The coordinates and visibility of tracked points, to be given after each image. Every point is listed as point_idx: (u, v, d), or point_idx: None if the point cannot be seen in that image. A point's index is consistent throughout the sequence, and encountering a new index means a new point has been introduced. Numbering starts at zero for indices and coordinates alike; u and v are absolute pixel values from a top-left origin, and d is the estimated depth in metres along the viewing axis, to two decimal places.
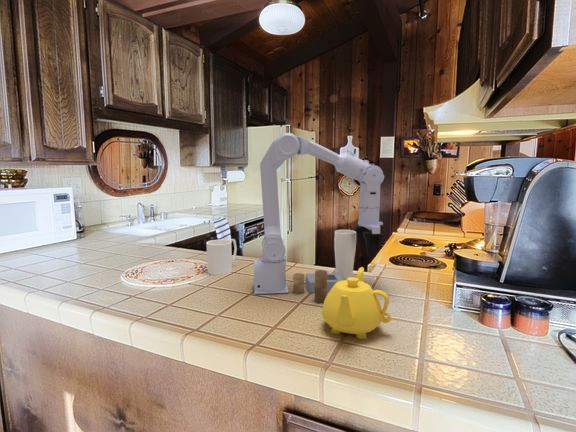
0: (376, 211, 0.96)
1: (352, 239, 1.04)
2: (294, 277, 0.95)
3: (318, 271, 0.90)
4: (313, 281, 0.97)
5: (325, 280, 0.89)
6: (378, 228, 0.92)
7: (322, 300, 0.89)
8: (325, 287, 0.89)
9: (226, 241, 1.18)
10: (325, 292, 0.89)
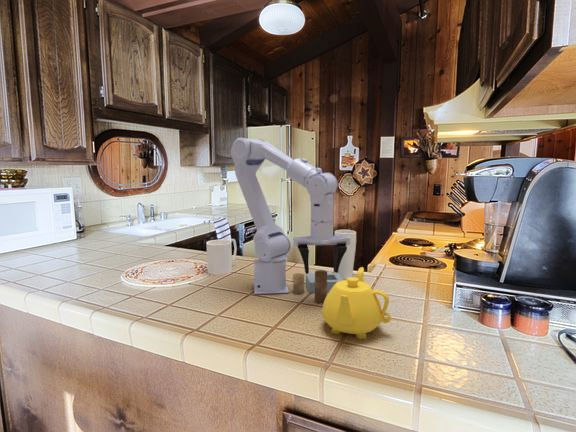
0: (313, 225, 0.86)
1: (352, 239, 1.04)
2: (294, 277, 0.95)
3: (318, 271, 0.90)
4: (313, 281, 0.97)
5: (325, 280, 0.89)
6: (293, 240, 0.87)
7: (322, 300, 0.89)
8: (325, 287, 0.89)
9: (226, 241, 1.18)
10: (325, 292, 0.89)
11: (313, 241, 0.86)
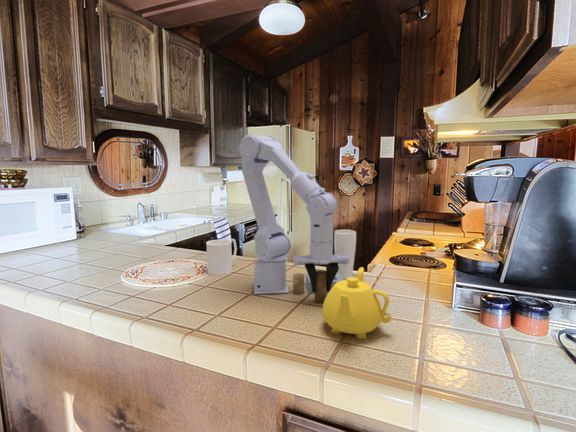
0: (312, 245, 0.87)
1: (352, 239, 1.04)
2: (294, 277, 0.95)
3: (318, 271, 0.90)
4: None
5: (325, 280, 0.89)
6: (293, 259, 0.88)
7: (322, 300, 0.89)
8: (325, 287, 0.89)
9: (226, 241, 1.18)
10: (325, 292, 0.89)
11: (313, 261, 0.86)
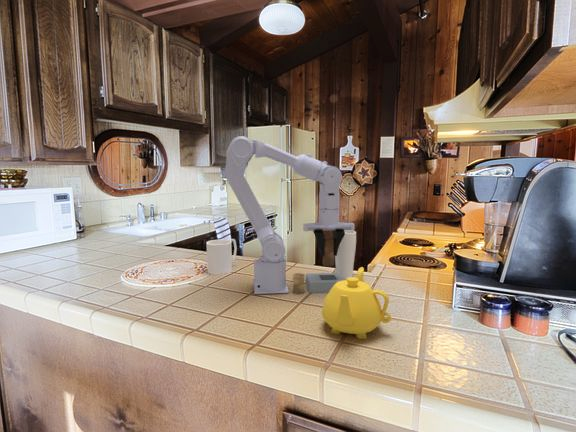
0: (321, 212, 0.96)
1: (352, 239, 1.04)
2: (294, 277, 0.95)
3: (326, 237, 0.99)
4: (313, 281, 0.97)
5: (332, 245, 0.97)
6: (303, 225, 0.97)
7: (329, 263, 0.98)
8: (332, 251, 0.98)
9: (226, 241, 1.18)
10: (332, 256, 0.98)
11: (321, 226, 0.95)
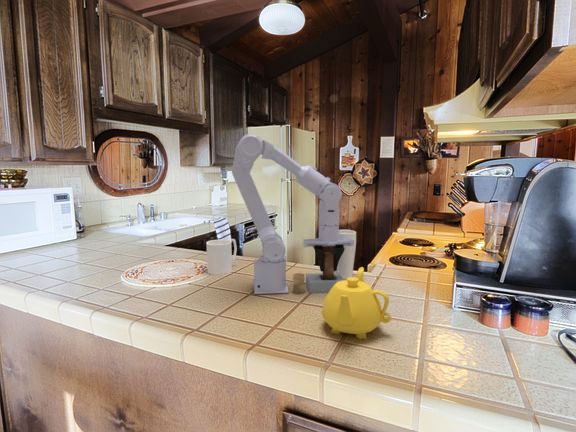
0: (321, 228, 0.97)
1: None
2: (294, 277, 0.95)
3: (326, 253, 1.00)
4: (313, 281, 0.97)
5: (332, 261, 0.98)
6: (303, 241, 0.98)
7: (329, 279, 0.99)
8: (332, 267, 0.98)
9: (226, 241, 1.18)
10: (332, 272, 0.99)
11: (321, 243, 0.96)
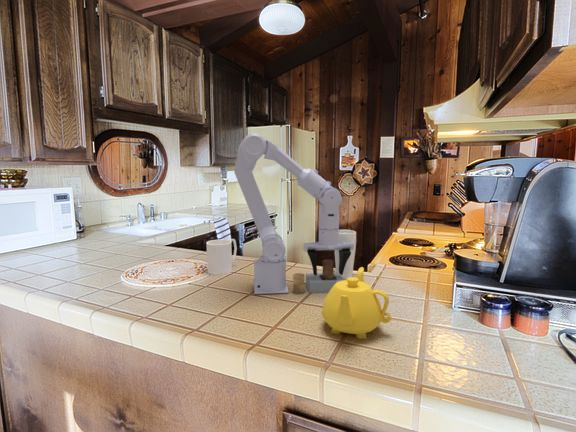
0: (321, 232, 0.97)
1: (352, 239, 1.04)
2: (294, 277, 0.95)
3: (325, 260, 1.00)
4: (313, 281, 0.97)
5: (332, 268, 0.99)
6: (303, 245, 0.98)
7: None
8: (332, 275, 0.99)
9: (226, 241, 1.18)
10: (332, 279, 0.99)
11: (321, 247, 0.96)
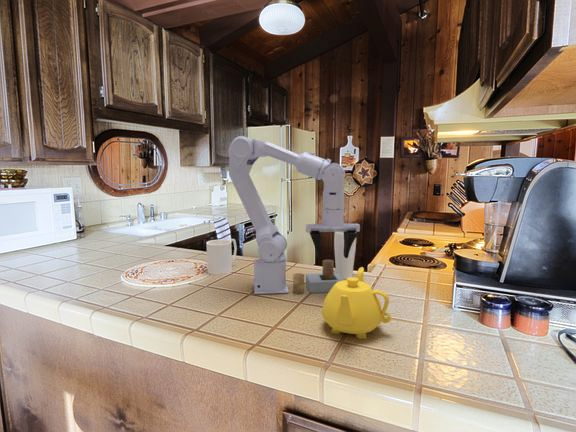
0: (324, 212, 0.91)
1: None
2: (294, 277, 0.95)
3: (325, 260, 1.00)
4: (313, 281, 0.97)
5: (332, 268, 0.99)
6: (306, 226, 0.92)
7: None
8: (332, 275, 0.99)
9: (226, 241, 1.18)
10: (332, 279, 0.99)
11: (325, 227, 0.90)
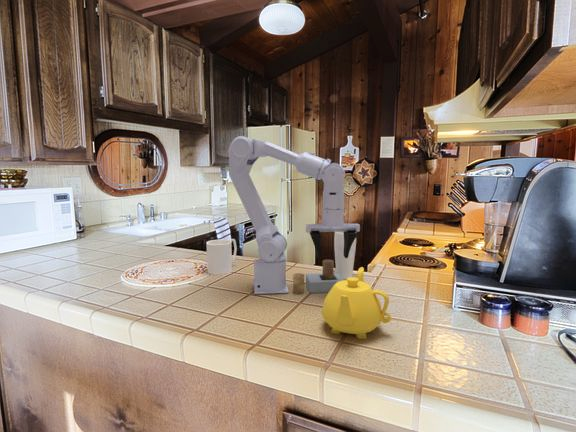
0: (324, 212, 0.91)
1: None
2: (294, 277, 0.95)
3: (325, 260, 1.00)
4: (313, 281, 0.97)
5: (332, 268, 0.99)
6: (306, 227, 0.92)
7: None
8: (332, 275, 0.99)
9: (226, 241, 1.18)
10: (332, 279, 0.99)
11: (325, 227, 0.90)
